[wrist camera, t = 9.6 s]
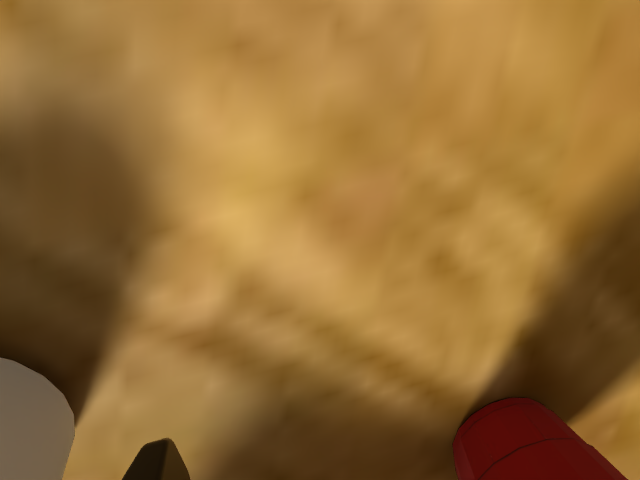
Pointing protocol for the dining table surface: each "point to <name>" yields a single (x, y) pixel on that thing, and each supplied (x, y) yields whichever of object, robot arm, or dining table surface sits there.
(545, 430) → the plastic cup
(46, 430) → the can
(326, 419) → the dining table surface
